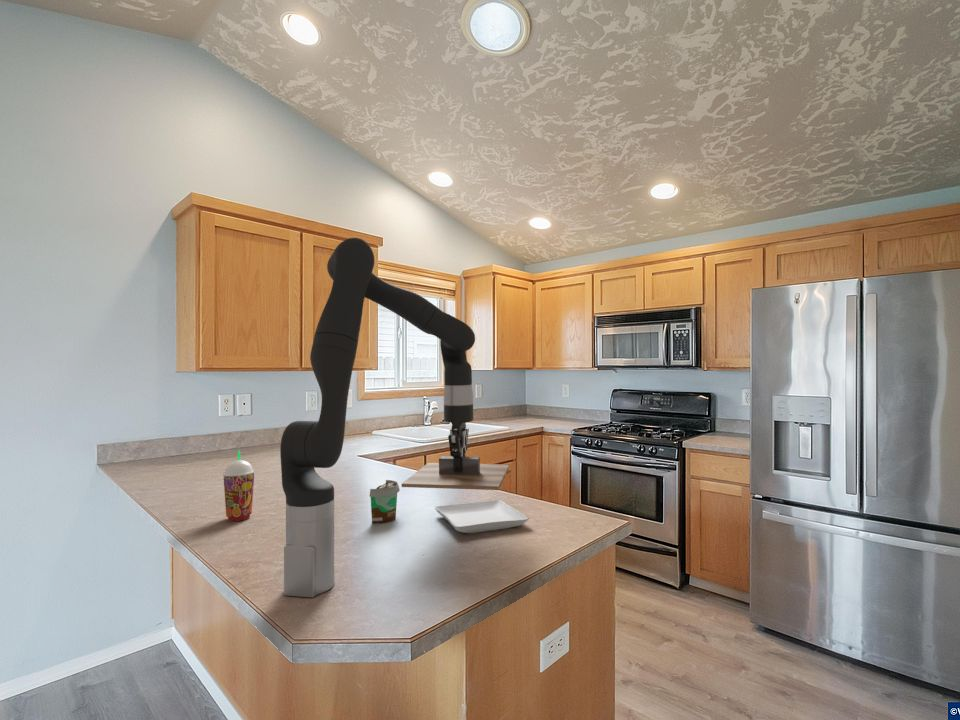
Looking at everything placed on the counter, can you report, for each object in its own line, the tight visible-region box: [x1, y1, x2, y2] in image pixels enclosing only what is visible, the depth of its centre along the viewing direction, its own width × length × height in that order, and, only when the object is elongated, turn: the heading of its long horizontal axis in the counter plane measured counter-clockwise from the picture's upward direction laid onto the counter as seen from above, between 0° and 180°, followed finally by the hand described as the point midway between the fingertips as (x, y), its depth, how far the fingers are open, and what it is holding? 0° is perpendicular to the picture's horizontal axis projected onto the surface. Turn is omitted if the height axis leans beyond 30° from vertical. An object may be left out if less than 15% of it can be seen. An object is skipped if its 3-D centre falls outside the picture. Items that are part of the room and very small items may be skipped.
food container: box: [369, 479, 400, 525], centre depth 140 cm, size 12×6×10 cm, turn 168°
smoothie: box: [222, 450, 256, 522], centre depth 142 cm, size 8×8×20 cm
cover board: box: [401, 455, 510, 491], centre depth 122 cm, size 23×23×5 cm
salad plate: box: [434, 499, 529, 534], centre depth 137 cm, size 21×21×3 cm
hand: (459, 470), depth 122 cm, fingers closed on cover board, 3 cm apart
